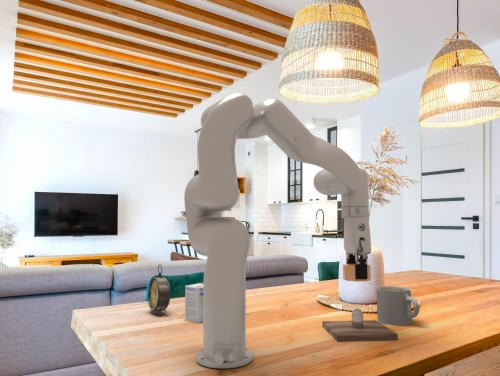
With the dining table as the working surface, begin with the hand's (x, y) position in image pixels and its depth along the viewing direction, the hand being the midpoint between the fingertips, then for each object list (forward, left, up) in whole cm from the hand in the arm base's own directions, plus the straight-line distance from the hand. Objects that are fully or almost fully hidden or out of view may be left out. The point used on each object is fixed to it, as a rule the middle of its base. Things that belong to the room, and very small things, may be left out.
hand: (356, 276), depth 115 cm
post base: (0, 0, -15) cm, 15 cm away
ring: (0, 0, -1) cm, 1 cm away
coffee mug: (+10, -16, -16) cm, 24 cm away
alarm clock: (+29, +58, -15) cm, 67 cm away
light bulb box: (+21, +43, -16) cm, 50 cm away
